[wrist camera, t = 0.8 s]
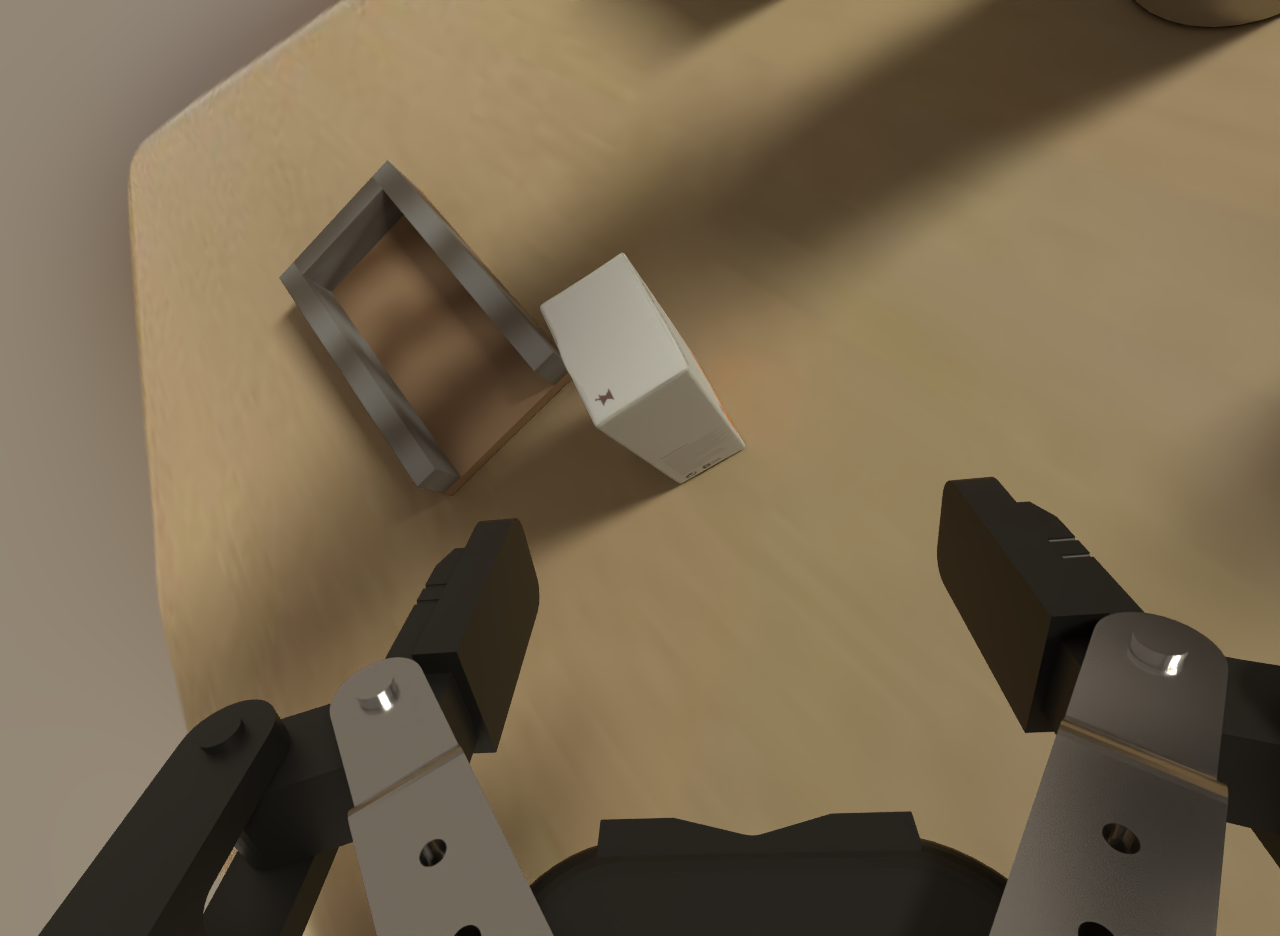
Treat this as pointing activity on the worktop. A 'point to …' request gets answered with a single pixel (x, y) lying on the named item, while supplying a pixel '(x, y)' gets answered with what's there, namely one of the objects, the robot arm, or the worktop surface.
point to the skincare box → (639, 372)
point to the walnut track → (423, 332)
